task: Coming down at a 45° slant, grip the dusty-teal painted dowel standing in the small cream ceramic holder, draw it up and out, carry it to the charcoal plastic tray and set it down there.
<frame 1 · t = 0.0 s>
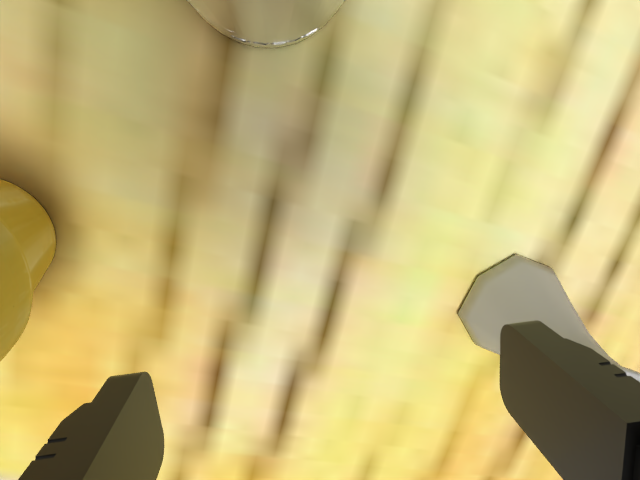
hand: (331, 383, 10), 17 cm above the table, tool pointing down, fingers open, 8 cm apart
flask: (508, 303, 30), on the table
plant pot: (0, 232, 25), on the table
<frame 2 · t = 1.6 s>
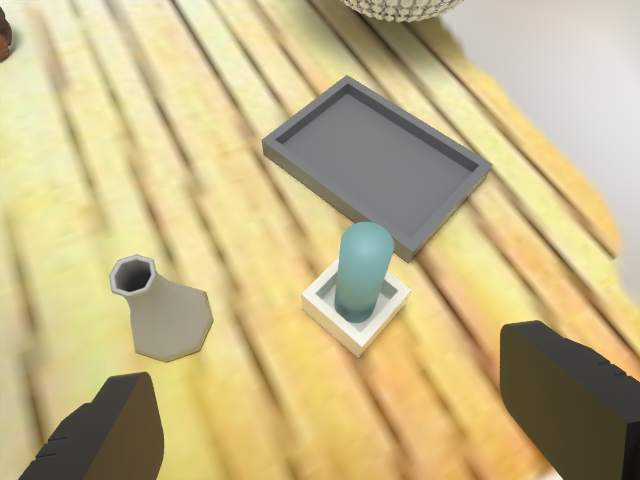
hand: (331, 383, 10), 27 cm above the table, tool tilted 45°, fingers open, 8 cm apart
flask: (173, 322, 39), on the table
tray: (373, 166, 48), on the table
dowel: (354, 303, 39), point 1 cm above the table, touching holder
colander: (391, 10, 62), on the table
holder: (353, 307, 40), on the table
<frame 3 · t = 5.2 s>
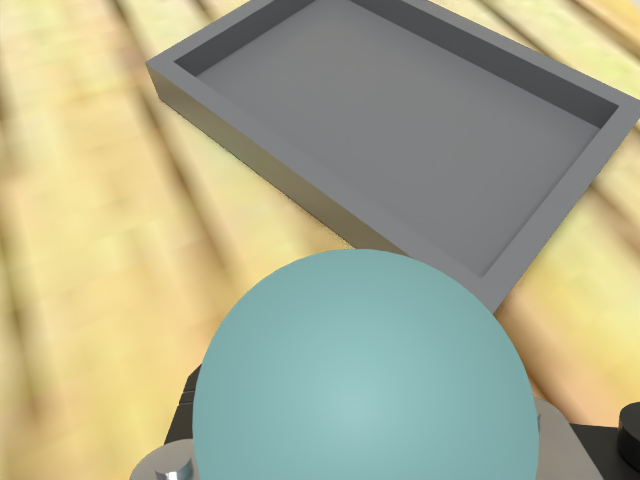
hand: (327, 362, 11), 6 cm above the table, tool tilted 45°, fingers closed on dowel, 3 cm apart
tray: (381, 118, 23), on the table
dowel: (335, 464, 14), point 1 cm above the table, touching gripper, holder
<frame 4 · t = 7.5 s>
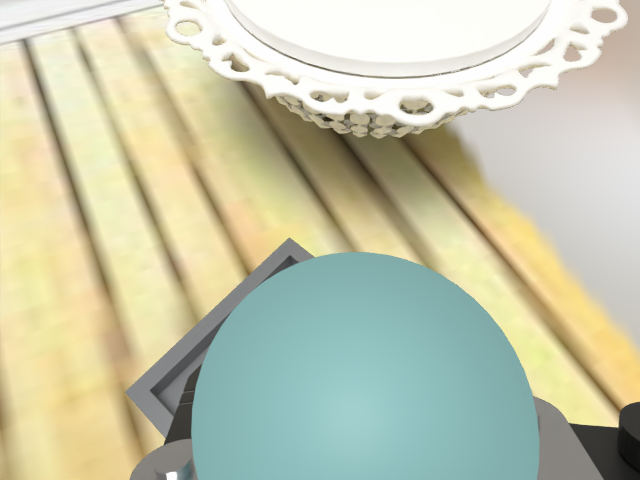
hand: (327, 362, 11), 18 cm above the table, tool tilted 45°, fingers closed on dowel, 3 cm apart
tray: (331, 422, 27), on the table
dowel: (335, 465, 14), point 13 cm above the table, touching gripper
colander: (367, 99, 41), on the table
when the fingers open (7 cm above the table, at t = 10.2 s): dowel stays where it is, resting on tray.
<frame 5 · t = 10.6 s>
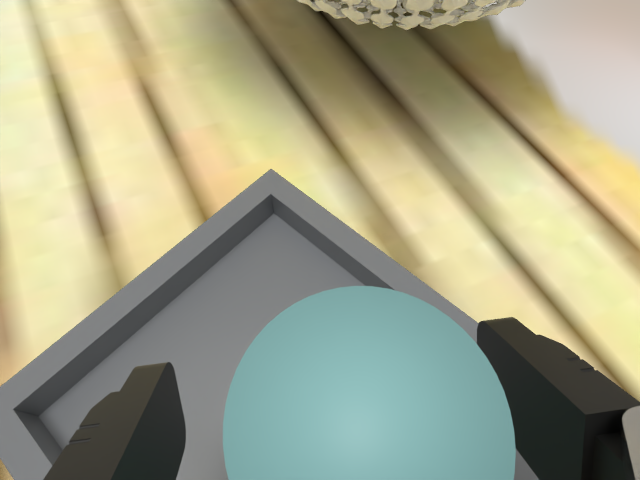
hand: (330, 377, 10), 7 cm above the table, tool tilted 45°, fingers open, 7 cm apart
tray: (333, 468, 16), on the table
dowel: (335, 469, 15), point 1 cm above the table, touching tray
colander: (389, 6, 30), on the table
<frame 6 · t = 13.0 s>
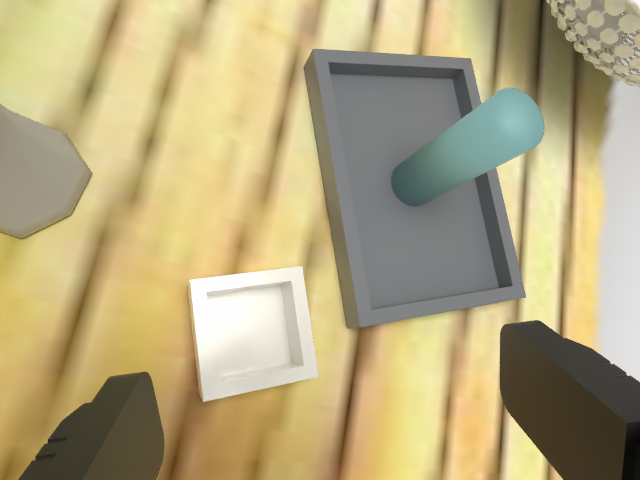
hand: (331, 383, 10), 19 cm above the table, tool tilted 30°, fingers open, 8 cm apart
flask: (21, 177, 26), on the table
tray: (406, 186, 34), on the table
dowel: (411, 183, 34), point 1 cm above the table, touching tray
colander: (575, 28, 45), on the table
holder: (245, 330, 28), on the table
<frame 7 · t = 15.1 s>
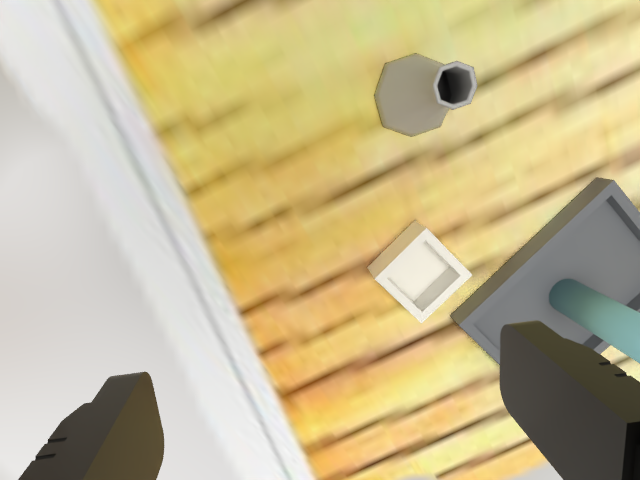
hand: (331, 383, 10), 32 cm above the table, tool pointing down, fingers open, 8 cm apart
flask: (411, 96, 40), on the table
tray: (561, 291, 46), on the table
dowel: (565, 295, 45), point 1 cm above the table, touching tray
holder: (412, 265, 44), on the table
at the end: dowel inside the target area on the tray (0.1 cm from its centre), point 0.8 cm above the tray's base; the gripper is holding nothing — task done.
